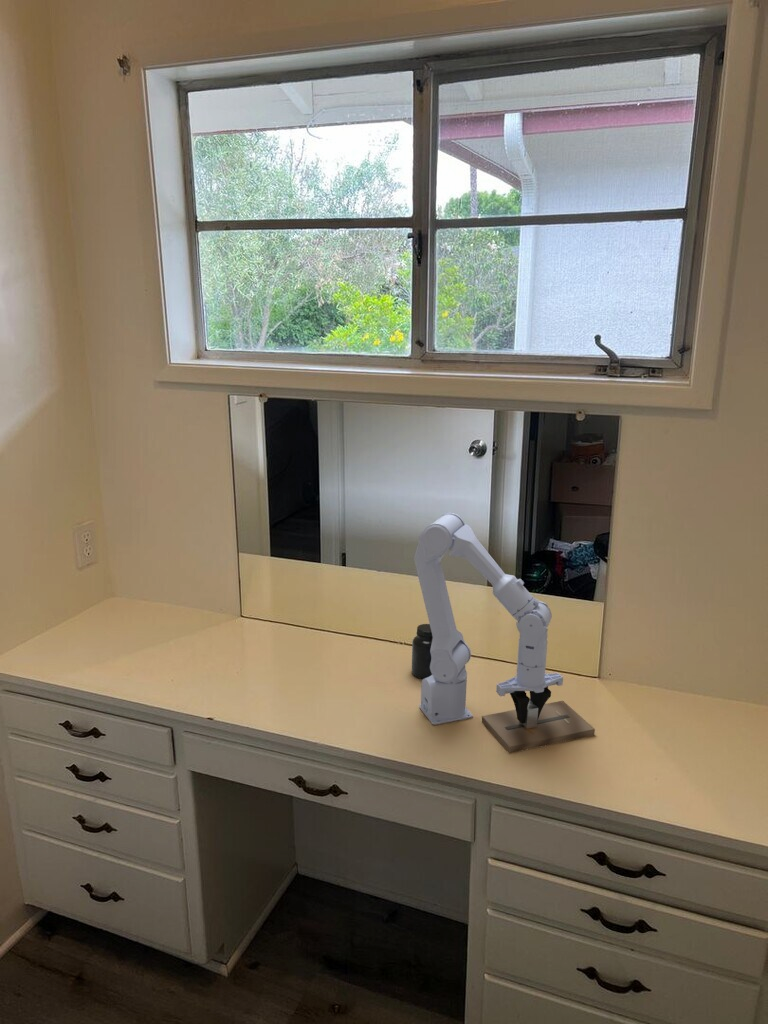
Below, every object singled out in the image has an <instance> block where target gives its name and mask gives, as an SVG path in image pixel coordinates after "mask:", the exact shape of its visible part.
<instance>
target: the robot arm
mask: <svg viewBox="0 0 768 1024" xmlns="http://www.w3.org/2000/svg"><path fill="white" fill-rule="evenodd" d="M448 551H450V552H449V554H448V556H449V557H457V558H465V559H466V560H467V561H468V562H469V563H470V564H471V565H472V566H473V567H474V569H476V570H477V571H478V572H479V573H480V574H481V575H482V576H483V577H484V578H485V580H487V581H488V582H489V583H490V584H491V585H492V595H493V596H494V597H495V598H496V600H497V601H498V602H499V603H500V604H501V605H502V607H504V609H505V610H506V611H507V612H508V613H509V614H510V615H511V616H512V617H513V618H514V619H515V620H516V625H515V626H516V629H517V631H518V632H519V638H518V646H517V647H518V649H517V663H516V676H514V677H511V678H509V679H507V680H505V681H502V682H498V683H496V688H495V689H496V690H495V692H496V693H497V694H498V695H499V696H500V697H505V696H506V695H507V694H509V695H510V697H511V699H512V701H513V702H512V703H513V704H514V708H515V710H516V713H517V719H518V720H519V721H520V722H521V723H522V724H524V723H525V721H526V713H527V707H528V704H529V701H530V700H531V701H532V702H533V703H534V704H535V705H536V706H537V707H538V718H539V715H540V713H541V710H542V708H543V706H544V704H547V703H546V702H548V700H549V699H550V698H551V696H552V691H551V690H550V689H549V687H552V686H555V685H556V686H558V687H559V686H560V687H561V686H563V685H564V676H562V675H561V674H560V673H559V672H555V673H546V667H547V666H546V663H547V654H548V637H549V636H548V631H549V630H548V627H549V625H550V624H551V620H552V611H551V609H550V608H549V606H548V604H547V603H546V602H543V601H542V600H539V599H538V598H535V597H534V596H533V594H532V593H530V592H529V590H528V589H527V588H526V587H525V586H524V584H525V582H524V580H522V579H521V578H517V577H516V576H515V575H513V574H507V573H505V572H504V570H503V569H502V568H501V567H500V565H498V563H497V562H496V561H495V560H494V558H493V557H492V556H491V555H490V553H489V552H488V550H487V549H486V548H485V547H484V546H483V545H482V543H481V542H480V540H479V539H478V538H477V537H476V535H475V533H474V531H473V529H472V527H471V526H470V525H469V524H467V523H465V521H464V519H463V518H462V517H461V516H460V515H459V514H457V513H453V512H447V513H444V514H442V515H441V516H440V517H439V518H438V519H437V520H434V522H432V523H431V524H428V525H427V526H426V527H425V528H424V529H423V530H422V532H421V533H419V535H418V543H417V546H416V550H415V553H414V556H413V560H414V561H413V562H414V565H415V570H416V573H417V578H418V583H419V586H420V589H421V594H422V598H423V602H424V606H425V610H426V611H425V612H426V615H427V618H428V619H427V620H428V624H430V628H431V632H432V636H433V639H432V644H431V649H430V653H431V663H430V670H431V673H432V675H431V676H430V677H427V678H424V679H421V684H420V686H421V687H420V704H419V708H420V710H421V712H423V714H424V715H425V717H426V718H427V719H428V720H429V722H430V724H432V725H434V726H435V725H441V724H446V723H450V722H457V721H461V720H467V719H471V718H473V716H474V715H473V714H472V713H471V711H470V710H469V709H468V708H467V707H466V701H467V681H468V680H467V678H468V673H467V669H466V665H467V664H468V663H469V662H470V660H471V657H472V652H471V648H470V647H469V645H468V644H467V643H466V641H465V639H464V636H463V632H461V631H460V630H458V629H457V626H456V621H455V617H454V613H453V608H452V604H451V600H450V596H449V592H448V588H447V583H446V579H445V574H444V570H443V567H442V559H443V558H444V557H445V555H446V554H447V552H448ZM527 692H529V696H530V697H529V696H528V695H527ZM538 718H537V721H538Z"/></svg>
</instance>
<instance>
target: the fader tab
mask: <svg viewBox="0 0 768 1024" xmlns="http://www.w3.org/2000/svg"><path fill="white" fill-rule="evenodd" d="M537 718H538V707H537V706H536V705H535V704H534V703H533V702H532V701H531V700H530V701H529V704H528V707H527V713H526V721H525V723H524V724H523V725H524V726H525V728H526V729H528V728H533V727H537Z"/></svg>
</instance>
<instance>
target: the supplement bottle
mask: <svg viewBox="0 0 768 1024" xmlns="http://www.w3.org/2000/svg"><path fill="white" fill-rule="evenodd" d="M432 639H433V636H432V632H431V628H430V623H422V624H420V625H419V624H418V625H417V627H416V635H415V636H414V637H413V639H412V642H411V643H412V644H411V645H412V646H411V673H412V675H413V676H414V677H416V678H417V679H420V680H423V679H424V678H427V677H430V676H431V675H432V673H431V670H430V663H431V653H430V649H431V644H432Z"/></svg>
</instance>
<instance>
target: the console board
mask: <svg viewBox="0 0 768 1024" xmlns="http://www.w3.org/2000/svg"><path fill="white" fill-rule="evenodd" d="M481 723H482V725H484V727H486V729H487V730H488V732H490V734H491V735H492V736H493V737H494V738H495V739H496V740H497V741H498V742H499V744H500V745H501V746H502V747H503V748H504V749H505V750H506V751H507V753H508V754H513V753H517V752H518V753H519V752H522V750H523V751H526V750H527V749H528V750H530V749H537V748H540V747H541V746H542V747H545V745H546V746H550V745H555V744H560V743H565V742H568V741H574V740H579V739H583V738H588V737H593V736H595V731H596V729H595V727H593V726H592V725H591V724H590V723H589V722H588V721H586V719H584V718H583V717H582V716H581V715H580V714H579V713H578V712H576V710H574V709H573V708H572V707H571V706H570V705H568V703H566V702H565V701H564V700H559V701H553V702H549V703H545V704H544V706H543V708H542V710H541V713H540V715H539V718H538V721H537V727H533V728H528V729H526V728H525V726H524V725H523V724H522V723H521V722H520V721H519V720H518V719H517V713H516V709H512V710H507V711H501V712H496V713H492V714H491V713H490V714H486V715H482V716H481Z"/></svg>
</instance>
